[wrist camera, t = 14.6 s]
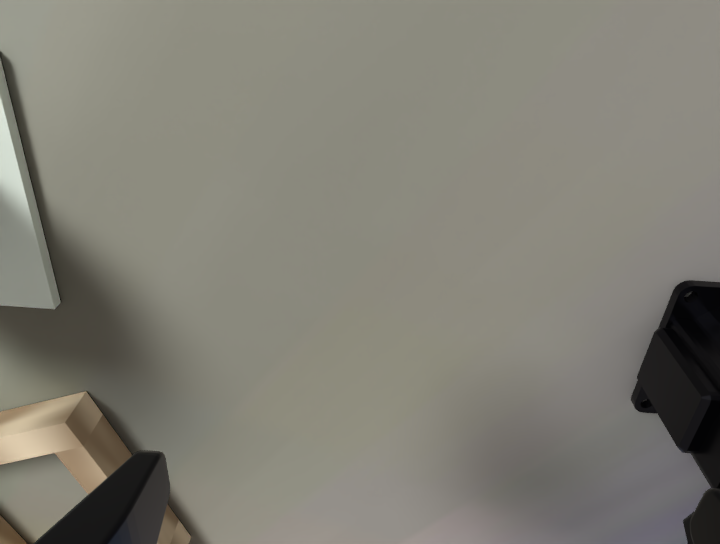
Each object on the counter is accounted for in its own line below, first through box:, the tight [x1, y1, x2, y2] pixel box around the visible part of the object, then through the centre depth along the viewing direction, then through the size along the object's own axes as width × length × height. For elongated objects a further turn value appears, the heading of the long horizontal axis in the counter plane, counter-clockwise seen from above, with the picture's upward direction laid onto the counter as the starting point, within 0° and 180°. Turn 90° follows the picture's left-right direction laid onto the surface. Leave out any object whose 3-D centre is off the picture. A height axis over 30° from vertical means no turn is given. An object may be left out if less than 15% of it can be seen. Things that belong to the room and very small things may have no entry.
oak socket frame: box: [0, 391, 191, 544], centre depth 29 cm, size 11×11×2 cm
